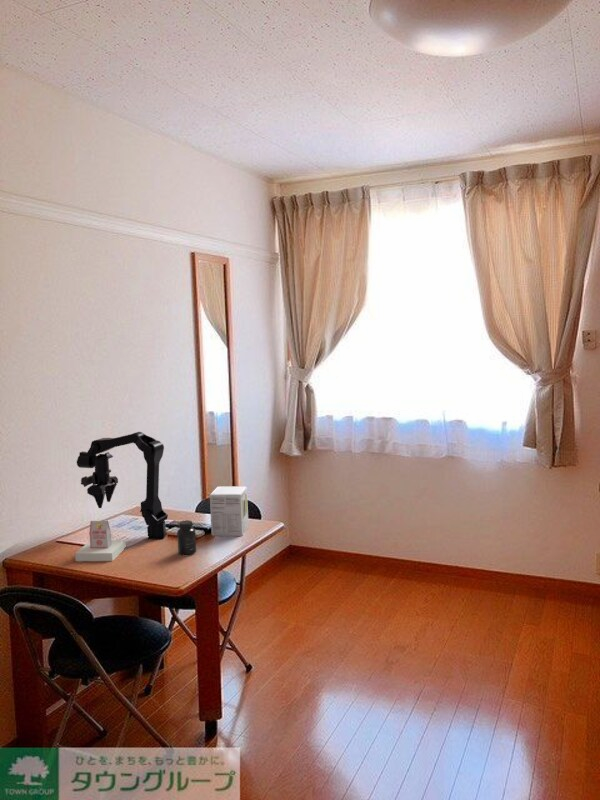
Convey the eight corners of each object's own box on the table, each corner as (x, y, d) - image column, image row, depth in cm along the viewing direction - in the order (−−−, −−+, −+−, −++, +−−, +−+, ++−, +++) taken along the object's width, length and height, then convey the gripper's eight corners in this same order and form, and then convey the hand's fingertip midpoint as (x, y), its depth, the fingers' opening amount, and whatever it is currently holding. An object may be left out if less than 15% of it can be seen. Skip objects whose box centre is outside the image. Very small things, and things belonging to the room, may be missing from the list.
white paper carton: (94, 544, 231) (92, 519, 230) (111, 544, 230) (109, 519, 229) (90, 548, 227) (88, 522, 226) (107, 548, 227) (106, 522, 226)
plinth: (125, 547, 236) (125, 540, 235) (112, 561, 222) (112, 553, 221) (91, 547, 237) (90, 540, 236) (75, 561, 223) (75, 553, 222)
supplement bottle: (174, 552, 228) (173, 522, 227) (190, 548, 233) (189, 518, 231) (183, 557, 223) (182, 526, 222) (199, 552, 227) (198, 522, 226)
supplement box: (242, 536, 244) (240, 494, 243) (211, 536, 246) (209, 494, 244) (249, 525, 258) (247, 486, 256) (219, 525, 259) (217, 486, 257)
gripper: (92, 464, 261) (94, 499, 263) (73, 474, 243) (76, 511, 244) (117, 463, 260) (119, 498, 262) (100, 473, 242) (102, 511, 244)
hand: (104, 504), depth 253 cm, fingers open, 9 cm apart
